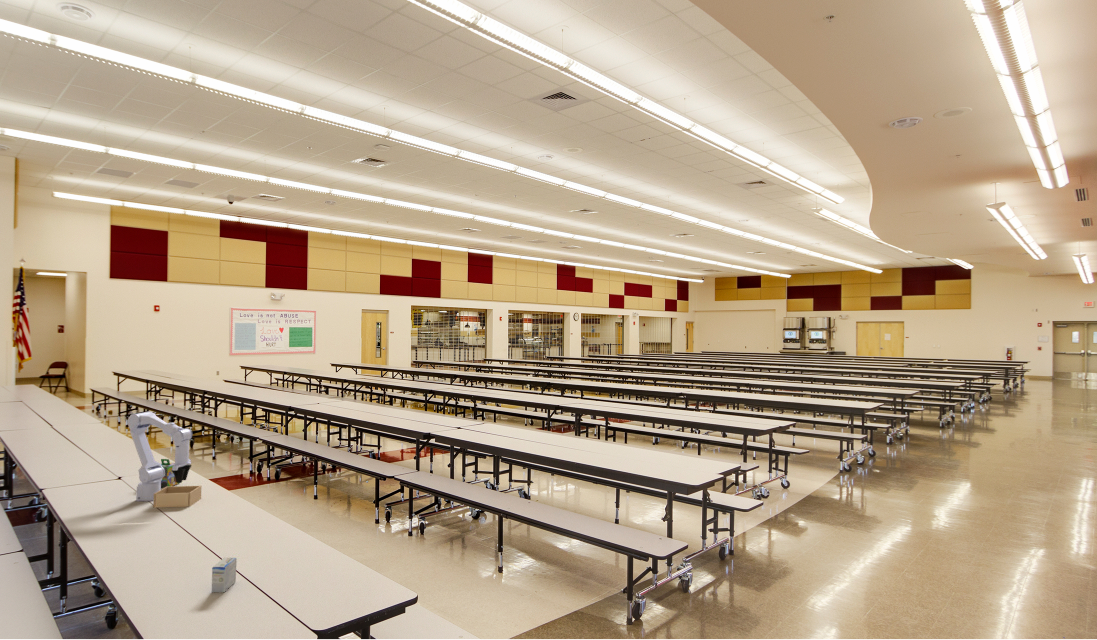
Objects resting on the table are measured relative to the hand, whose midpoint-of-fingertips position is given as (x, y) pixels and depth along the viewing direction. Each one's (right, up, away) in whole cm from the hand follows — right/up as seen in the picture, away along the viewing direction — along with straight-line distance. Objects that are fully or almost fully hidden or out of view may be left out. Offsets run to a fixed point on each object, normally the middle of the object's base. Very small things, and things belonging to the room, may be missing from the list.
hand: (181, 481), depth 276 cm
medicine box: (+71, -11, -86) cm, 113 cm away
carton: (0, -10, -3) cm, 11 cm away
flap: (+1, -10, -9) cm, 13 cm away
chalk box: (-26, -10, +27) cm, 39 cm away
